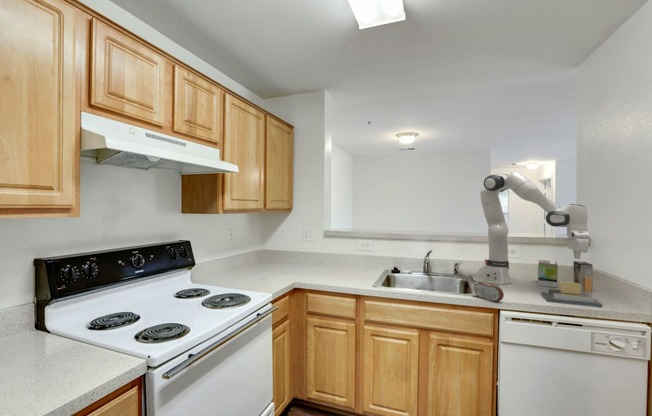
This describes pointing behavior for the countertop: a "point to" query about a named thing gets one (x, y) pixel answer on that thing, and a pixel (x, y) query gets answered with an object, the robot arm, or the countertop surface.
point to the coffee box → (582, 272)
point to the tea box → (547, 273)
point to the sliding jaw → (586, 287)
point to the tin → (488, 291)
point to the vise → (571, 299)
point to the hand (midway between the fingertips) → (577, 258)
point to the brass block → (569, 288)
